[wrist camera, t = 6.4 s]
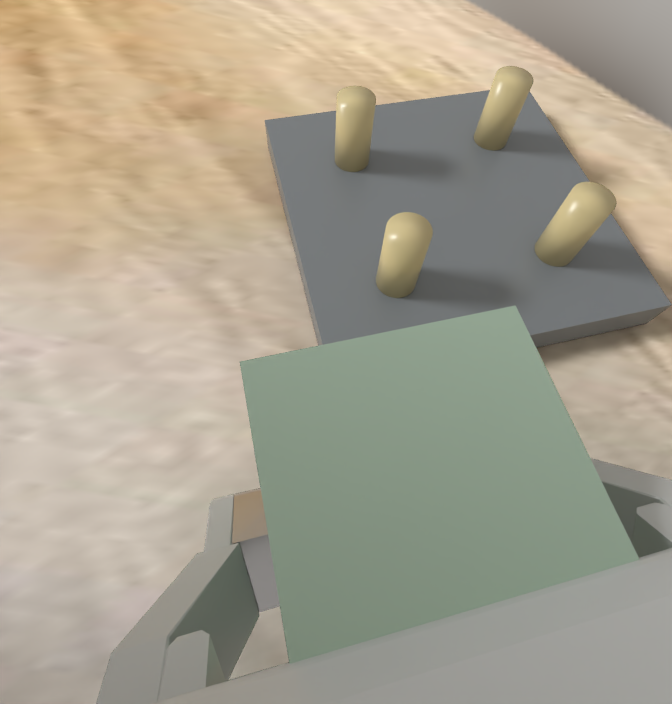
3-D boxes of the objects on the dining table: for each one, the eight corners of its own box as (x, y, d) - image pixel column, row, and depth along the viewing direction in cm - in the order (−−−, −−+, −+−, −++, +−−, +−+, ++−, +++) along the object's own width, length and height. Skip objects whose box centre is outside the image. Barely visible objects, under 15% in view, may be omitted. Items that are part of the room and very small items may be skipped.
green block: (314, 620, 14) (301, 735, 5) (286, 477, 16) (239, 362, 7) (448, 581, 14) (668, 618, 5) (406, 448, 16) (515, 305, 7)
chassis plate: (330, 392, 17) (333, 339, 13) (268, 146, 23) (256, 56, 19) (646, 323, 19) (736, 257, 15) (514, 111, 25) (552, 22, 20)
